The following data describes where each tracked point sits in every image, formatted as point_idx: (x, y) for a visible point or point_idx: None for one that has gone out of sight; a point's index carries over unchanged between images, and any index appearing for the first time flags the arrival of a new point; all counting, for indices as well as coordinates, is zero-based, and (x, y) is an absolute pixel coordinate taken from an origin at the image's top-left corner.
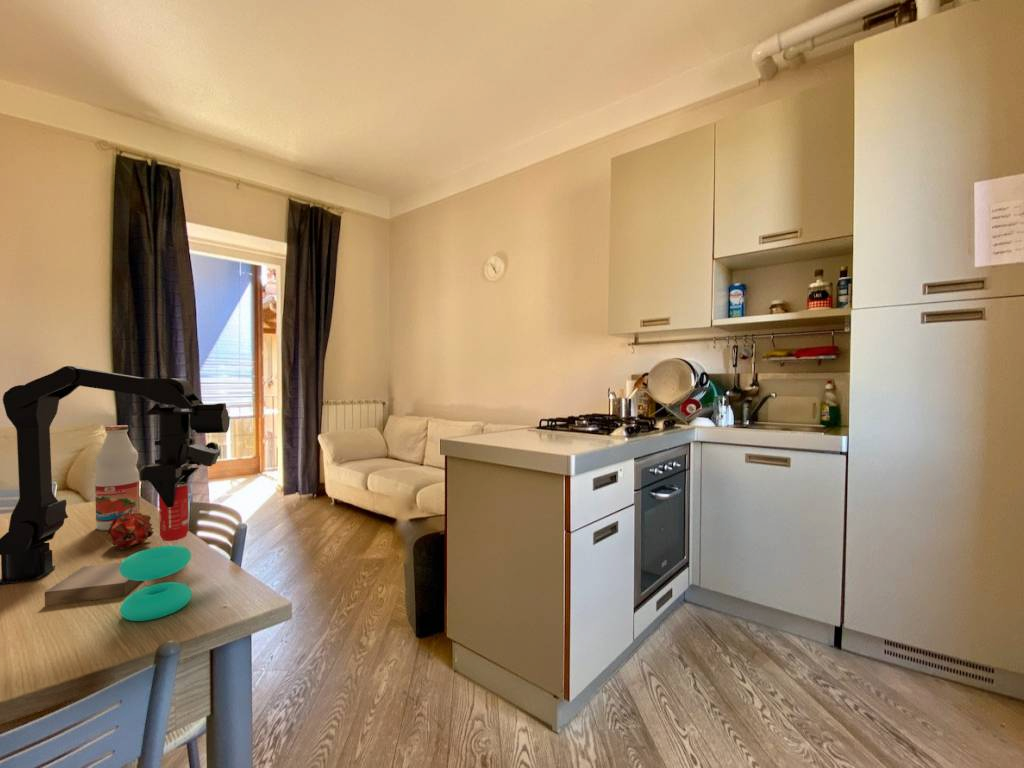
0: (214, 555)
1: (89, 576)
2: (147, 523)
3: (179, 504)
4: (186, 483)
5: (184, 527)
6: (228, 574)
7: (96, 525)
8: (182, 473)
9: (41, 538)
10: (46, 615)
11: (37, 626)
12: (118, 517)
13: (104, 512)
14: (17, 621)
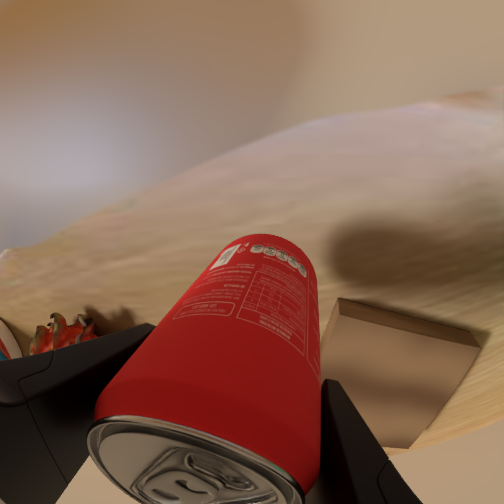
0: (294, 135)
1: (376, 415)
2: (58, 335)
3: (312, 350)
4: (64, 376)
5: (298, 257)
6: (488, 116)
7: None
8: (4, 461)
9: None
10: (450, 416)
11: (481, 412)
12: (5, 356)
13: None
14: (439, 438)
